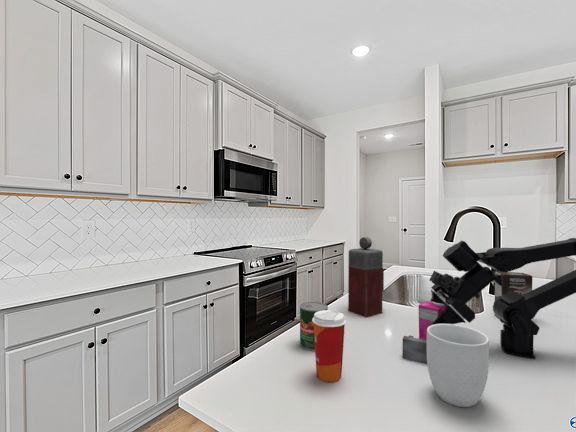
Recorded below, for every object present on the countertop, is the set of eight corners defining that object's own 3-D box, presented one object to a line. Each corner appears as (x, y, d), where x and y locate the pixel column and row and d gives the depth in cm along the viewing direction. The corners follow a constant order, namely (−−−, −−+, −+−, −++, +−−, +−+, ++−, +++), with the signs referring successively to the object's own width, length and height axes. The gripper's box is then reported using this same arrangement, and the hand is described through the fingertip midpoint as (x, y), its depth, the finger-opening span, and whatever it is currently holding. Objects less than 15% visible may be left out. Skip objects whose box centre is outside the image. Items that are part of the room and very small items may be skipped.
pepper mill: (386, 311, 113) (387, 237, 113) (366, 317, 107) (366, 238, 107) (368, 305, 121) (368, 235, 120) (347, 310, 115) (348, 236, 114)
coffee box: (501, 321, 104) (502, 274, 103) (493, 315, 110) (494, 270, 110) (532, 323, 102) (533, 275, 101) (522, 317, 108) (523, 272, 108)
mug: (441, 369, 72) (441, 315, 72) (496, 388, 64) (497, 327, 64) (418, 398, 61) (418, 333, 61) (481, 424, 53) (482, 351, 53)
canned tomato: (329, 340, 88) (329, 302, 88) (325, 352, 81) (325, 311, 80) (303, 337, 90) (303, 300, 90) (296, 349, 83) (296, 308, 83)
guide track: (456, 354, 80) (457, 335, 80) (455, 370, 72) (456, 349, 72) (408, 343, 86) (408, 326, 86) (402, 357, 78) (402, 338, 78)
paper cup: (323, 363, 75) (323, 307, 74) (352, 374, 70) (352, 314, 70) (305, 377, 69) (305, 315, 68) (334, 389, 64) (334, 323, 64)
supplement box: (426, 338, 90) (427, 300, 89) (448, 345, 85) (448, 304, 85) (417, 344, 86) (418, 304, 86) (439, 351, 81) (439, 309, 81)
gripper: (438, 257, 94) (400, 291, 96) (462, 268, 75) (414, 309, 77) (466, 283, 92) (427, 317, 94) (496, 301, 74) (447, 343, 76)
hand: (428, 320), depth 86 cm, fingers open, 9 cm apart
